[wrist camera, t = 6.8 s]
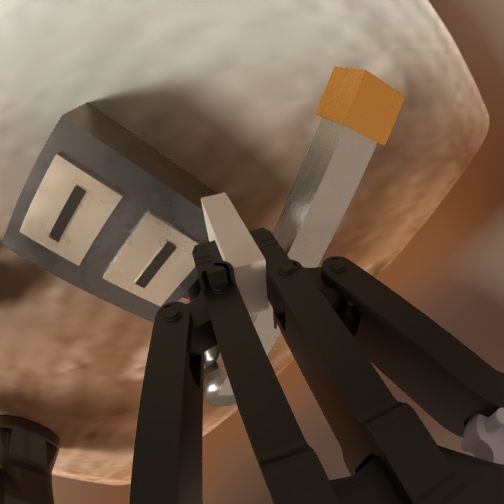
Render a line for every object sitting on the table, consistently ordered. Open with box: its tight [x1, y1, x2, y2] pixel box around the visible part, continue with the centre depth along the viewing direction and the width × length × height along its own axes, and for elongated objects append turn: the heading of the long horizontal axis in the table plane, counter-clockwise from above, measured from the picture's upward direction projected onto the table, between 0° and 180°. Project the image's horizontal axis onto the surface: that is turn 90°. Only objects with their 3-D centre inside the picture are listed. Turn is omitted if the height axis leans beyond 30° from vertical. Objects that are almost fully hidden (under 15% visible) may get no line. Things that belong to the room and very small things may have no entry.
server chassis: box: [2, 103, 216, 322], centre depth 21 cm, size 10×14×8 cm
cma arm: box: [203, 67, 405, 406], centre depth 17 cm, size 4×23×2 cm, turn 158°
